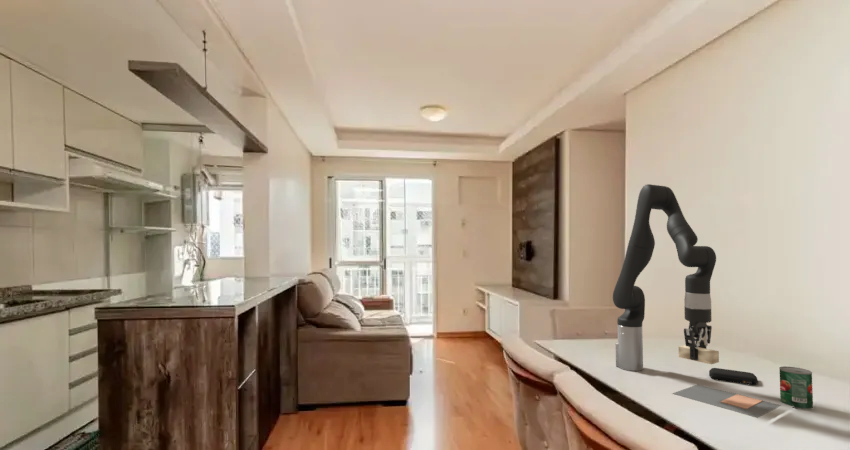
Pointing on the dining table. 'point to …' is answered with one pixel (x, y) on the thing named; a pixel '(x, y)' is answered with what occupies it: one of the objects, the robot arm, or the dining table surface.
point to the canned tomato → (796, 387)
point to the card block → (700, 354)
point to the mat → (728, 400)
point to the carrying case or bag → (733, 376)
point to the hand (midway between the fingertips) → (698, 358)
